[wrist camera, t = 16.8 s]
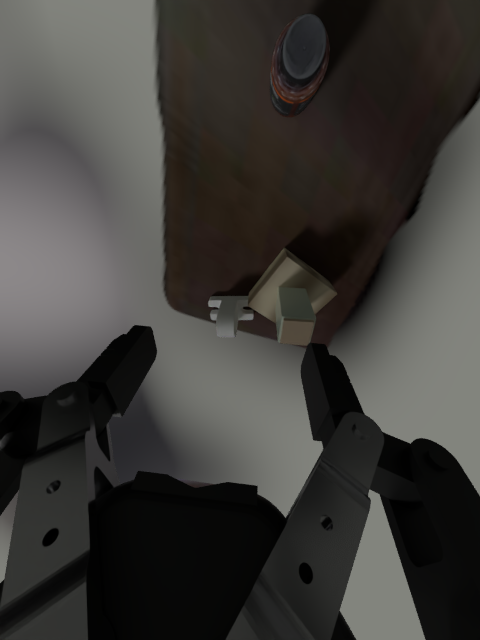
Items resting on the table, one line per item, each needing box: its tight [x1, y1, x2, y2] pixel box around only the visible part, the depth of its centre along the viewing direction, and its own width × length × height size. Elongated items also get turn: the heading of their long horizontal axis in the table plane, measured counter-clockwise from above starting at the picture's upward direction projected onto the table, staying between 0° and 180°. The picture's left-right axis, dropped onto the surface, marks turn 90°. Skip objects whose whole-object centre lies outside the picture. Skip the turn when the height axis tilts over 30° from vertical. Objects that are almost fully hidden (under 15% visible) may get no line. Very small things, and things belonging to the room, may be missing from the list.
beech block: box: [248, 248, 337, 323], centre depth 43 cm, size 12×12×6 cm
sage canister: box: [275, 287, 316, 345], centre depth 36 cm, size 5×5×11 cm
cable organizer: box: [208, 296, 254, 337], centre depth 45 cm, size 5×10×10 cm, turn 93°
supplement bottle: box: [270, 14, 330, 117], centre depth 24 cm, size 6×6×11 cm
